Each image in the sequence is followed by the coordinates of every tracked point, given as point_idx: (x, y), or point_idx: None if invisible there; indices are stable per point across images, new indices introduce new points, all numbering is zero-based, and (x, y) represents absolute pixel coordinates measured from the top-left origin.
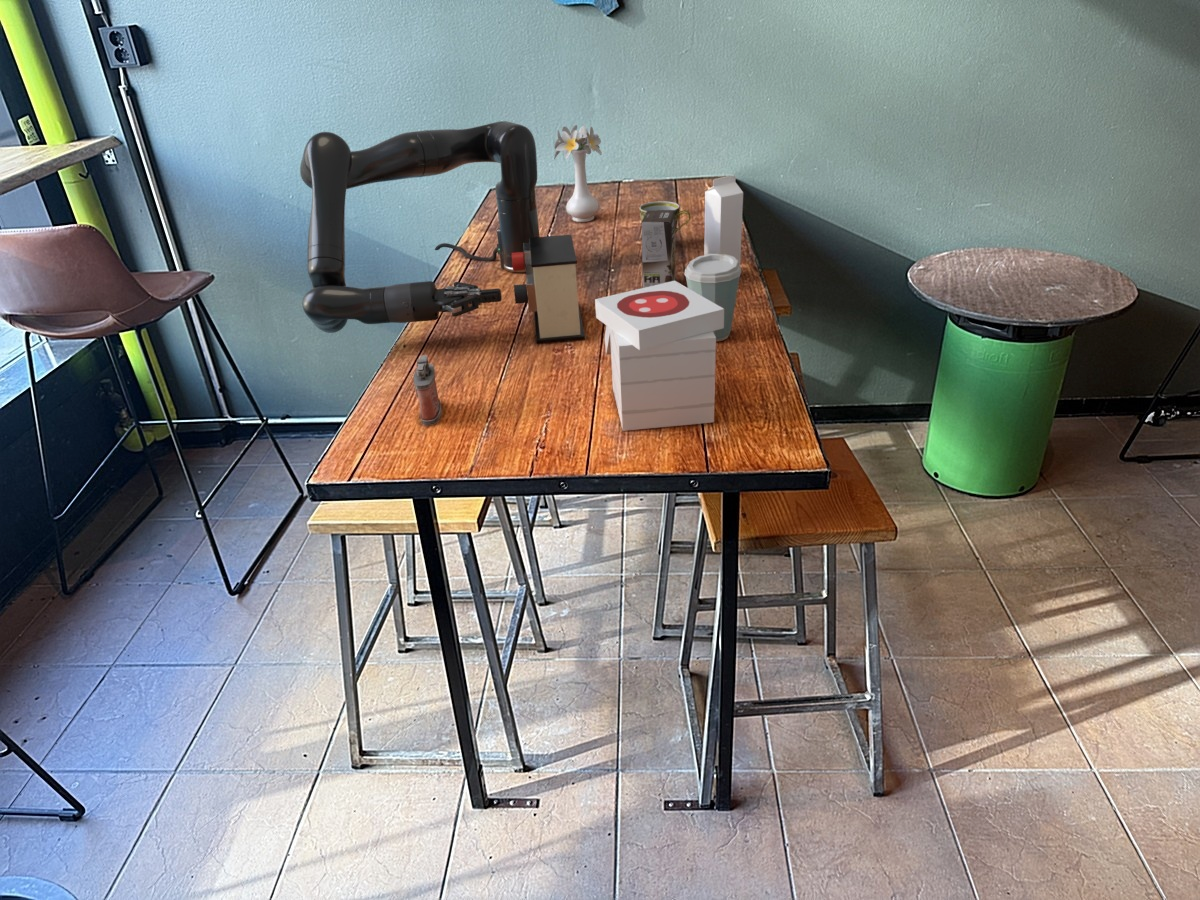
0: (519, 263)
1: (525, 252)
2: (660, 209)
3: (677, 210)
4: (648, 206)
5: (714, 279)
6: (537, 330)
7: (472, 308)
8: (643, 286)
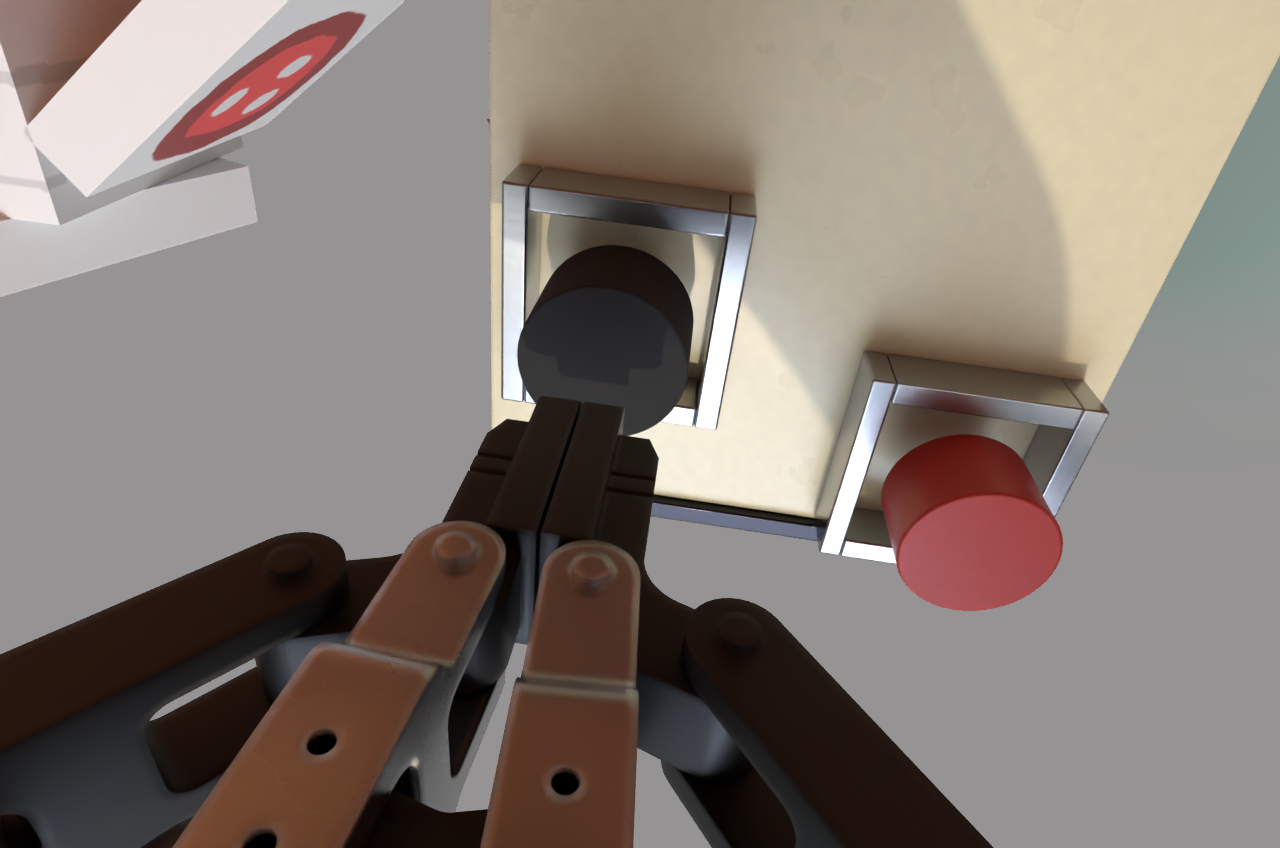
0: (888, 511)
1: (818, 541)
2: None
3: None
4: None
5: (489, 129)
6: None
7: (176, 608)
8: None
